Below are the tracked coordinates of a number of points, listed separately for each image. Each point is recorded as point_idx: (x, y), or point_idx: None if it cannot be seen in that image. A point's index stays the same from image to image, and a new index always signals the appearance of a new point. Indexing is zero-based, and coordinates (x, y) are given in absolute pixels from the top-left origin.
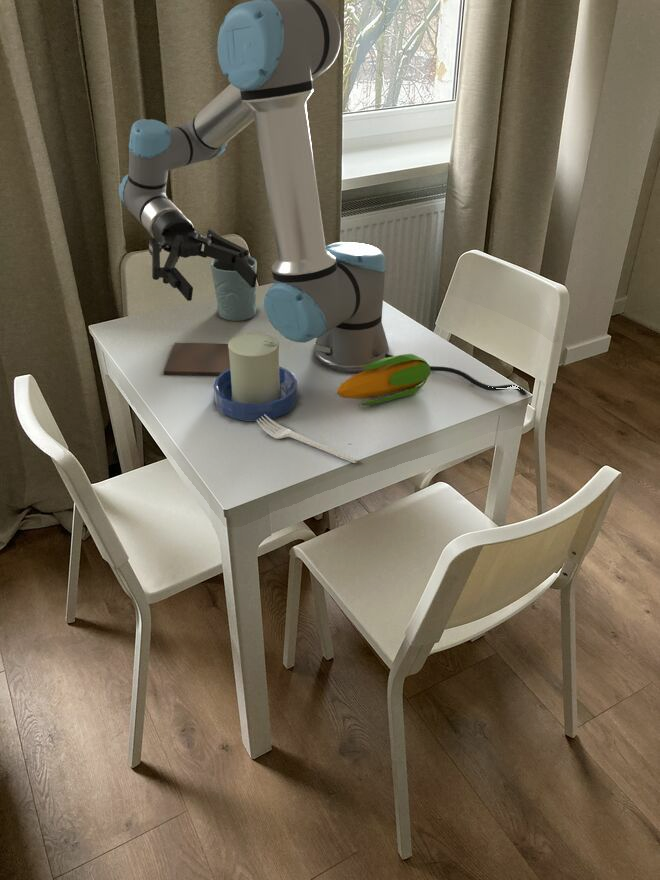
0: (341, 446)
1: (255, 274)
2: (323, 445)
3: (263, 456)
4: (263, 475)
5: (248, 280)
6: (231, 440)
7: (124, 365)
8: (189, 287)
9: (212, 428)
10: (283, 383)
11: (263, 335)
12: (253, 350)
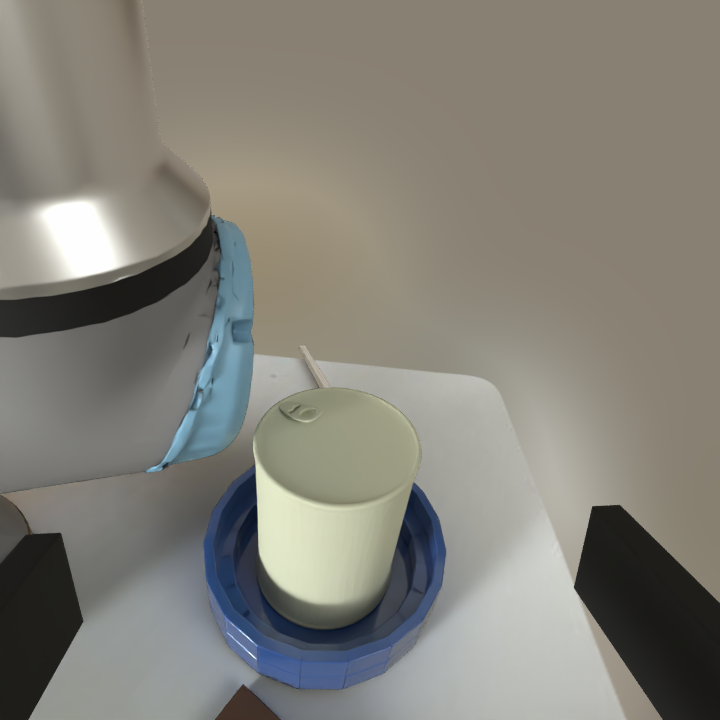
0: (288, 378)
1: (30, 542)
2: (319, 375)
3: (408, 416)
4: (427, 390)
5: (46, 652)
6: (443, 470)
7: None
8: (620, 513)
9: (468, 520)
10: (236, 544)
11: (276, 461)
12: (359, 416)
